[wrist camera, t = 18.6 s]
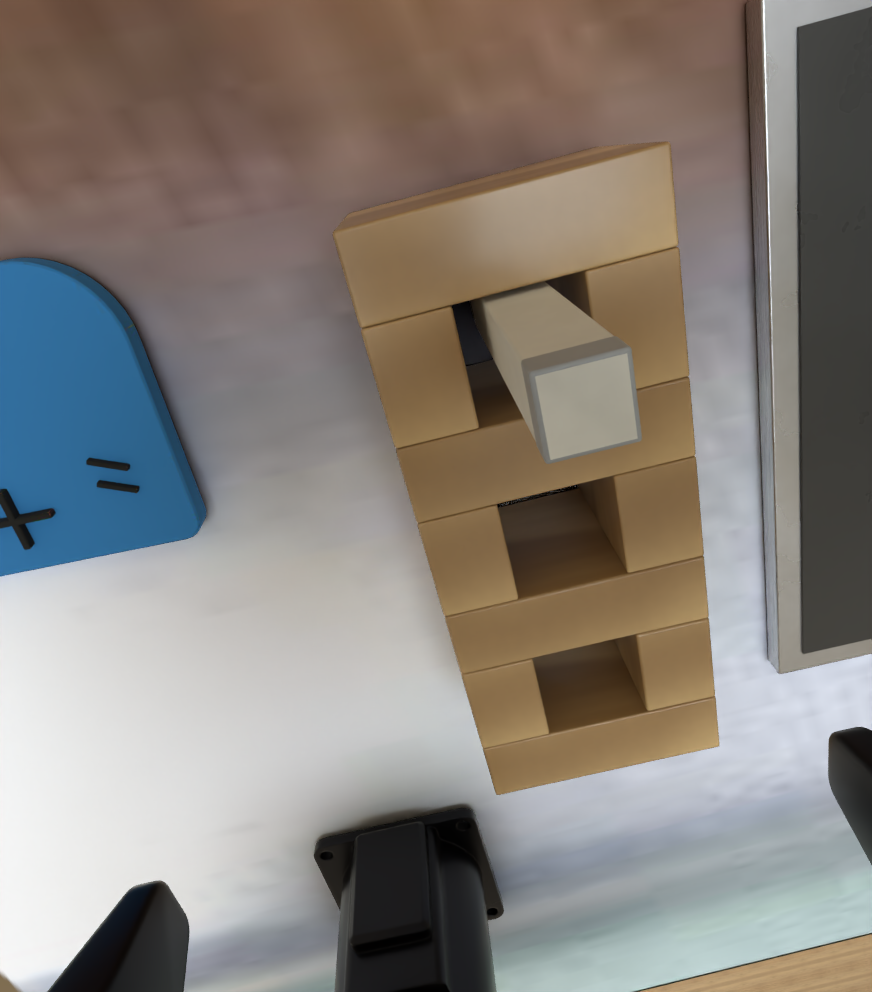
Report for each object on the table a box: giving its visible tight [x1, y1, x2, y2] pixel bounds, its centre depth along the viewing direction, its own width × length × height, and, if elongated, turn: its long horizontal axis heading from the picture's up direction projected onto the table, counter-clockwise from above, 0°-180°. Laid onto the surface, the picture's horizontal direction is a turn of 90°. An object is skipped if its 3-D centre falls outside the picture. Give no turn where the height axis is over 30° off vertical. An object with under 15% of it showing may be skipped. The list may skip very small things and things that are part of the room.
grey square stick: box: [469, 281, 642, 464], centre depth 14 cm, size 1×1×10 cm
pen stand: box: [333, 142, 719, 795], centre depth 19 cm, size 16×6×5 cm, turn 14°
